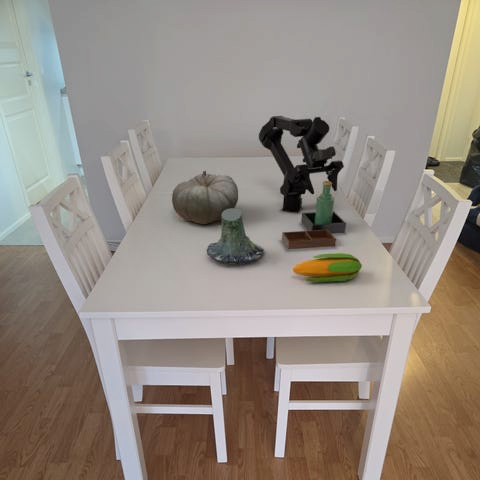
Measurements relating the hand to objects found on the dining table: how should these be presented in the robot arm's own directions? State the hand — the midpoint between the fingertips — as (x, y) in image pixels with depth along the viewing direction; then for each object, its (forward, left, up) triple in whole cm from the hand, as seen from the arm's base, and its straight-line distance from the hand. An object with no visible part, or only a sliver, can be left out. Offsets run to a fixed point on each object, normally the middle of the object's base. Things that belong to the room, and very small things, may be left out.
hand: (324, 192), depth 156 cm
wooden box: (-1, -16, -13) cm, 21 cm away
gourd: (-43, -6, -13) cm, 45 cm away
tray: (+1, -1, -13) cm, 13 cm away
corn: (+9, -39, -13) cm, 42 cm away
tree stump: (-21, -33, -13) cm, 41 cm away
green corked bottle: (+1, -1, -12) cm, 12 cm away
